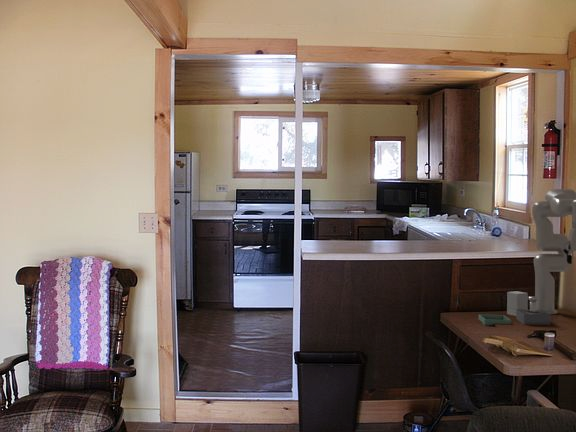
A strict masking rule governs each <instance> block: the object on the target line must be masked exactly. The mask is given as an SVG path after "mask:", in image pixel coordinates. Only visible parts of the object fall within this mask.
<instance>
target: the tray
mask: <svg viewBox="0 0 576 432" xmlns="http://www.w3.org/2000/svg"><path fill="white" fill-rule="evenodd" d="M479 320H480V321H481V322H482V323H481V322H480V321H479ZM478 321H479V322H480V323H481V324H483V325H484V326H489V325H500V324H501V325H511V324H512V320H511V319H510V318H509V317H507V316H506V315H505V314H478Z"/></svg>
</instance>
